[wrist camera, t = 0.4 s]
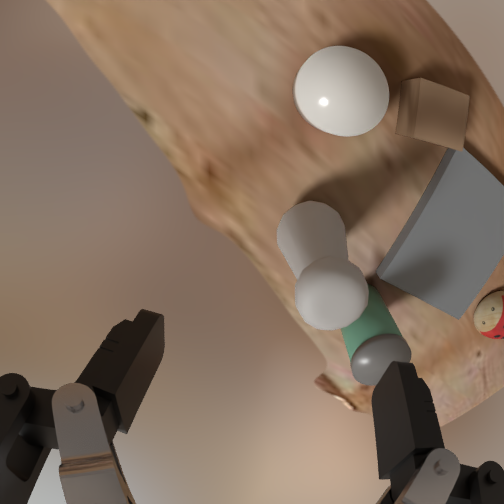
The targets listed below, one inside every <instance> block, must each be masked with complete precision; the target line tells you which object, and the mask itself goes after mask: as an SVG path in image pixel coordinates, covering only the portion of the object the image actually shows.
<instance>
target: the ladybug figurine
mask: <svg viewBox="0 0 504 504" xmlns="http://www.w3.org/2000/svg"><path fill="white" fill-rule="evenodd" d="M474 324H475V327H476V329H477V330H478V331H479V332H480V333H481V334H483V335H484V336H486V337H489V338H493V339H504V291H497V292H494V293H492V294H490V295H488V296H487V297H485V298H484V299H483V300H482V301H481V302H480V303H479V305H478V306H477V308H476V310H475V313H474Z"/></svg>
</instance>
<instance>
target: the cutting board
mask: <svg viewBox="0 0 504 504" xmlns="http://www.w3.org/2000/svg"><path fill="white" fill-rule="evenodd" d="M503 255H504V186H503V185H502V184H501V183H500V182H499V181H498V180H497V179H496V178H495V177H494V176H493V175H492V174H491V173H490V172H489V171H488V170H487V169H486V168H485V167H484V166H483V165H482V164H481V163H480V162H479V161H477V160H476V159H475V158H474V157H473V156H472V155H471V154H470V153H469V152H468V151H466V150H465V149H464V148H463V151H462V152H461V151H458V150H454V149H451V148H448V149H447V151H446V153H445V155H444V157H443V159H442V161H441V163H440V164H439V166H438V168H437V170H436V172H435V174H434V176H433V178H432V179H431V181H430V183H429V185H428V187H427V188H426V190H425V192H424V194H423V195H422V197H421V199H420V201H419V202H418V204H417V206H416V208H415V209H414V211H413V213H412V214H411V216H410V218H409V219H408V221H407V223H406V224H405V226H404V228H403V229H402V231H401V233H400V234H399V236H398V237H397V239H396V241H395V242H394V244H393V245H392V247H391V249H390V250H389V252H388V253H387V255H386V256H385V258H384V259H383V261H382V262H381V264H380V265H379V267H378V268H377V270H376V273H377V274H378V276H379V278H380V279H382V280H384V281H386V282H388V283H390V284H392V285H394V286H396V287H398V288H399V289H401V290H403V291H405V292H407V293H409V294H411V295H413V296H415V297H417V298H419V299H421V300H423V301H425V302H426V303H428V304H430V305H432V306H434V307H436V308H438V309H440V310H442V311H444V312H445V313H447V314H449V315H451V316H453V317H455V318H457V319H458V320H459V319H460V318H461V316H462V315H463V314H464V312H465V311H466V310H467V308H468V307H469V306H470V304H471V303H472V302H473V300H474V299H475V297H476V296H477V294H478V293H479V292H480V290H481V289H482V287H483V286H484V284H485V283H486V281H487V280H488V278H489V277H490V275H491V274H492V272H493V271H494V269H495V267H496V266H497V264H498V263H499V261H500V259H501V258H502V256H503Z"/></svg>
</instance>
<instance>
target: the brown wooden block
mask: <svg viewBox="0 0 504 504" xmlns="http://www.w3.org/2000/svg"><path fill="white" fill-rule="evenodd" d="M469 98H470V96H469V95H466V94H464V93H461V92H459V91H456V90H454V89H451V88H448V87H446V86H443V85H440V84H437V83H435V82H432V81H429V80H426V79H423V78H417V79H411V80H405V81H402V83H401V93H400V102H399V111H398V119H397V126H396V133H395V134H398V135H402V136H406V137H410V138H414V139H418V140H422V141H425V142H429V143H433V144H436V145H440V146H443V147H447V148H451V149H454V150H458V151H461V152H462V151H463V145H464V139H465V132H466V125H467V117H468V108H469Z"/></svg>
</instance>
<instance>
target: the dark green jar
mask: <svg viewBox="0 0 504 504" xmlns="http://www.w3.org/2000/svg"><path fill="white" fill-rule="evenodd" d="M367 285H368V290H369V295H368V305H367V307H366V308H365V310H364V311H363V313H362V314H361V316H360V317H359V318H358V319H357V320H355V321H354V322H353V323H351V324H350V325H349V326H347V327H343V328H341V331H342V335H343V338H344V341H345V345H346V348H347V351H348V355H349V358H350V362H351V369H352V373H353V376H354V378H355V379H356V380H357V381H358V382H360V383H362V384H365V385H377V384H378V382H379V380H380V379H381V377H382V376H383V374H384V373H385V371H386V369H387V368H388V366H389V365H390V363H391V362H392V361H399V362H408V363H409V362H410V360H411V350H410V347H409V346H408V344H407V342H406V340H405V339H404V338H403V336H402V335H401V333H400V331H399V329H398V327H397V325H396V323H395V321H394V319H393V318H392V316H391V314H390V312H389V310H388V308H387V307H386V305H385V303H384V301H383V299H382V297H381V296H380V294H379V292H378V291H377V289H376V288H375V287H374V286H372V285H370V284H367Z"/></svg>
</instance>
